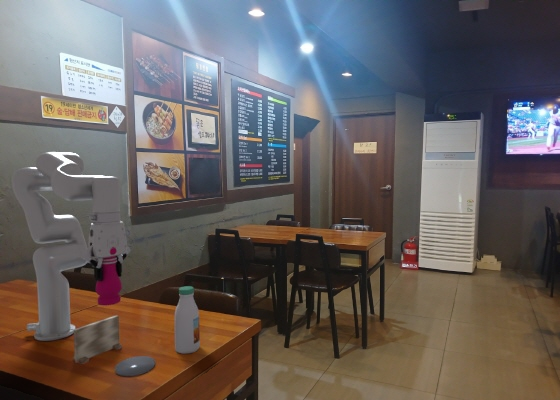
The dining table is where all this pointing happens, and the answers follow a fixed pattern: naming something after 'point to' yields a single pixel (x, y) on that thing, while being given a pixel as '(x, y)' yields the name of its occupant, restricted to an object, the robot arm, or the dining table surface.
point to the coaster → (135, 366)
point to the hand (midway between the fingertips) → (108, 277)
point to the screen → (96, 339)
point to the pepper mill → (109, 281)
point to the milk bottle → (187, 322)
